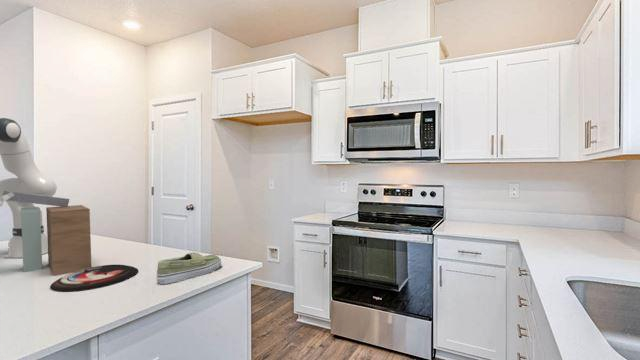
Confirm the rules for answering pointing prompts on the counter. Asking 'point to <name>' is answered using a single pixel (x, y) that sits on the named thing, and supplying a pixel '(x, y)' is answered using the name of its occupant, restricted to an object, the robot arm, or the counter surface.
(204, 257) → the boat shoe
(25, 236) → the socket post
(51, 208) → the brown wooden block
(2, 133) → the robot arm
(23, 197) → the bar
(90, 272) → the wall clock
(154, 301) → the counter surface
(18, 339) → the counter surface
